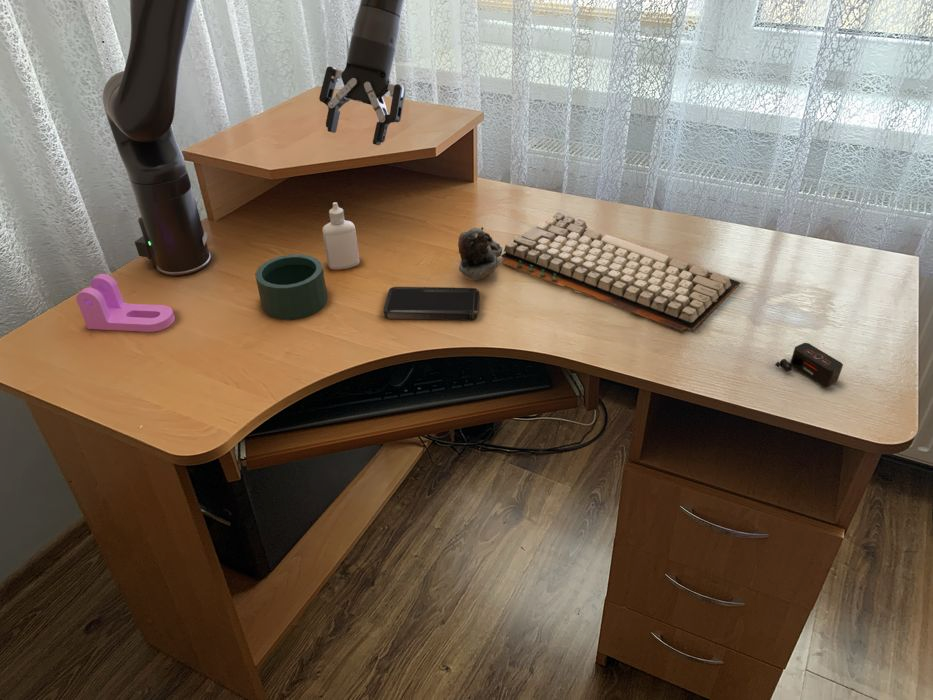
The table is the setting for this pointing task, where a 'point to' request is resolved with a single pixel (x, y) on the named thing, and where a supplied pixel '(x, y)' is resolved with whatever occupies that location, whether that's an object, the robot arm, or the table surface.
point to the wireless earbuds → (813, 364)
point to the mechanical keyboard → (619, 272)
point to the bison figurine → (477, 253)
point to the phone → (432, 303)
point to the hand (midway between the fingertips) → (353, 138)
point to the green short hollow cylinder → (291, 286)
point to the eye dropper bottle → (340, 241)
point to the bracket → (119, 309)
